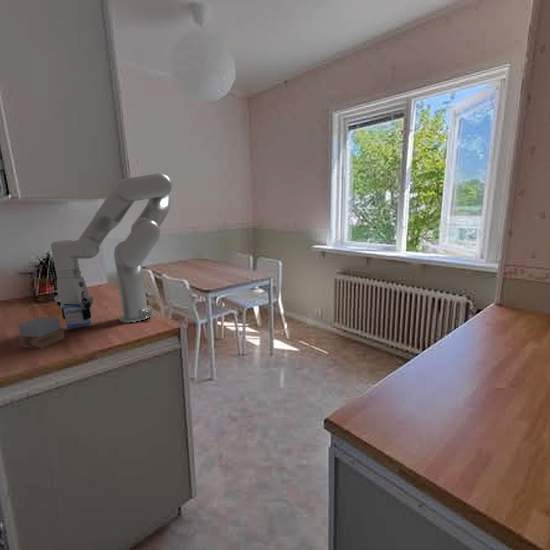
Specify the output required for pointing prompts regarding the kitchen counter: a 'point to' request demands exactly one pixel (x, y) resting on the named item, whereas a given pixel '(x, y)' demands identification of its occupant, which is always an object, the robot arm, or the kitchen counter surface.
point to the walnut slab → (42, 340)
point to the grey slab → (39, 327)
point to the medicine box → (74, 316)
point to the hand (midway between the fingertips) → (77, 318)
